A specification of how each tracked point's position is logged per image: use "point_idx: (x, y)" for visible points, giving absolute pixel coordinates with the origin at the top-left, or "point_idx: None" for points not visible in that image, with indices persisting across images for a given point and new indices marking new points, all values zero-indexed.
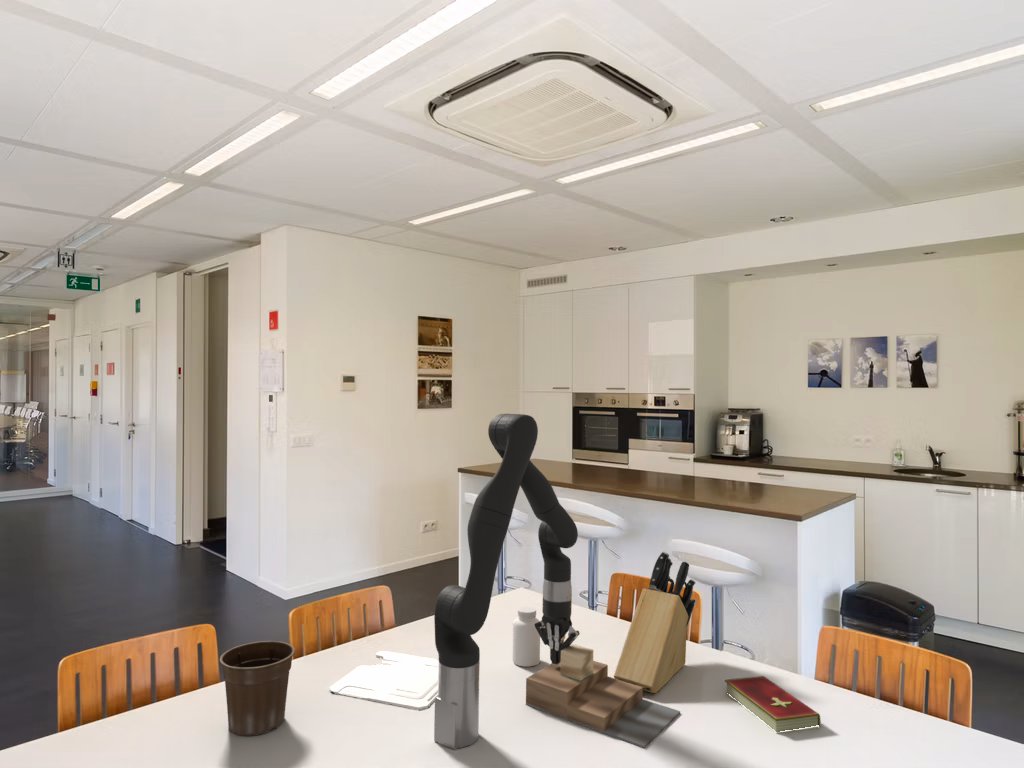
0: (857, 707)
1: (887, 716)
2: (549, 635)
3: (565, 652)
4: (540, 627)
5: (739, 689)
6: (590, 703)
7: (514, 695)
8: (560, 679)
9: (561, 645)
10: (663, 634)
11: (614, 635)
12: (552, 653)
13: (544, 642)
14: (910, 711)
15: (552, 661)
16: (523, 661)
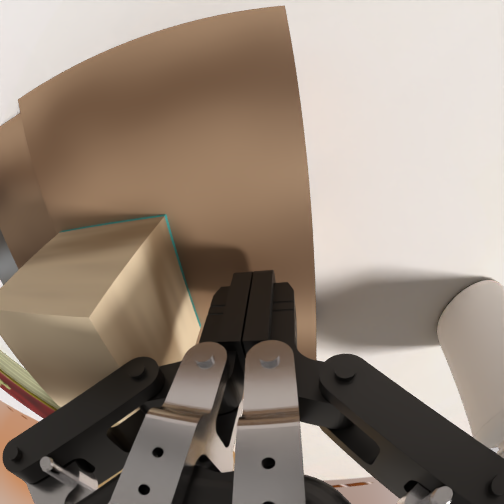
0: (23, 405)
1: (9, 398)
2: (276, 462)
3: (52, 313)
4: (440, 500)
5: (34, 397)
6: (29, 175)
7: (381, 72)
8: (119, 167)
9: (143, 387)
10: (99, 485)
11: (338, 463)
12: (260, 315)
13: (353, 368)
14: (16, 409)
15: (263, 274)
16: (476, 295)
